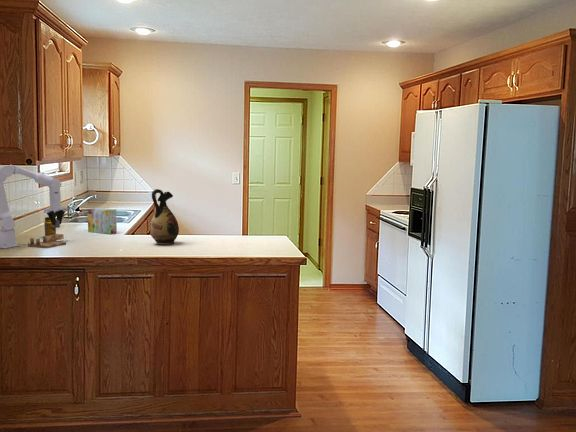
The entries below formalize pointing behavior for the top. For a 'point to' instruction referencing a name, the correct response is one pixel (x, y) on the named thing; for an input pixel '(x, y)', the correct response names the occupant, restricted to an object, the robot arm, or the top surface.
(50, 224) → the condiment
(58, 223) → the foot cap
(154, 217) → the ceramic jug
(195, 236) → the top surface
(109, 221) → the snack box
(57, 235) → the oak leg
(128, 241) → the top surface
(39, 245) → the wooden tray
